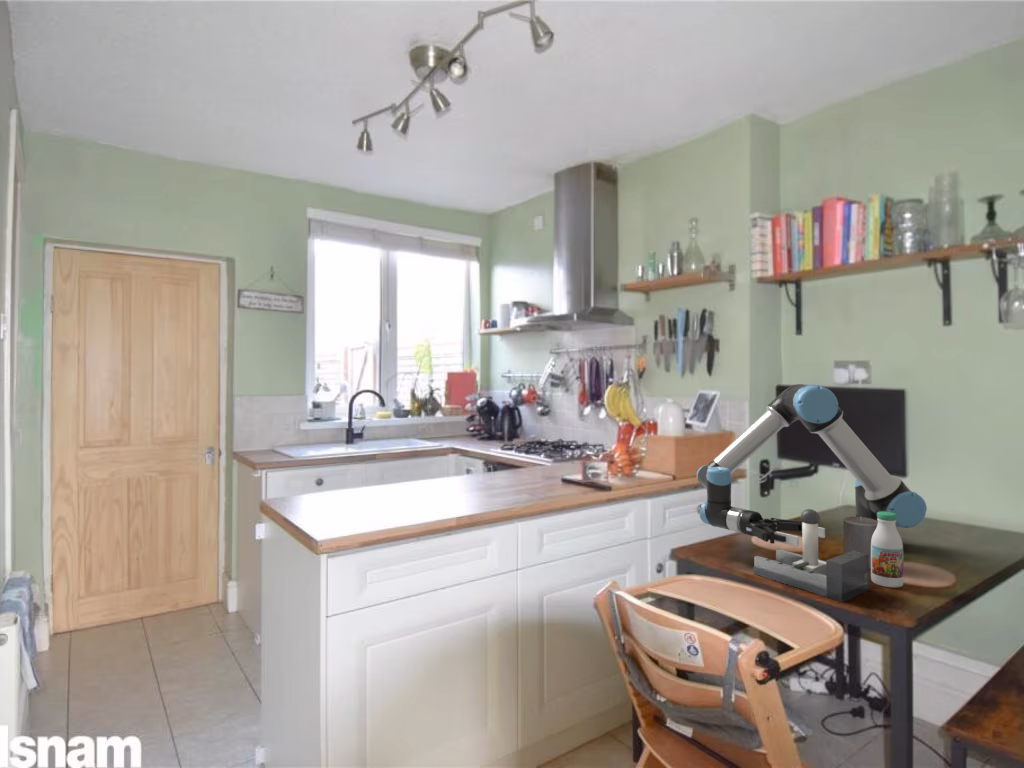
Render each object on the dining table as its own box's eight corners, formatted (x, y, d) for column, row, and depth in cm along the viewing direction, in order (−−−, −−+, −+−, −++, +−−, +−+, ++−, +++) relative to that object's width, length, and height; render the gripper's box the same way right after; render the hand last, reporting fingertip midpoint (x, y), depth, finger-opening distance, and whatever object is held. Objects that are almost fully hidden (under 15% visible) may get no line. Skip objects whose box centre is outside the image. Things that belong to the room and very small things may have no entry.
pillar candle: (837, 559, 184) (836, 512, 184) (868, 558, 184) (868, 511, 183) (854, 570, 174) (854, 521, 174) (887, 569, 174) (887, 520, 174)
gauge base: (753, 573, 173) (752, 540, 173) (780, 564, 180) (780, 532, 180) (841, 602, 151) (841, 564, 151) (868, 590, 159) (868, 553, 158)
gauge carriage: (786, 576, 164) (785, 511, 163) (808, 568, 170) (807, 505, 169) (806, 582, 159) (806, 515, 158) (828, 574, 165) (828, 509, 164)
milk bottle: (864, 579, 167) (864, 510, 166) (889, 577, 167) (889, 509, 167) (884, 589, 159) (883, 517, 159) (910, 587, 160) (910, 515, 159)
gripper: (768, 526, 189) (834, 542, 171) (720, 540, 175) (786, 559, 158) (768, 504, 189) (834, 517, 171) (719, 516, 175) (786, 531, 157)
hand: (811, 537), depth 164 cm, fingers open, 13 cm apart
